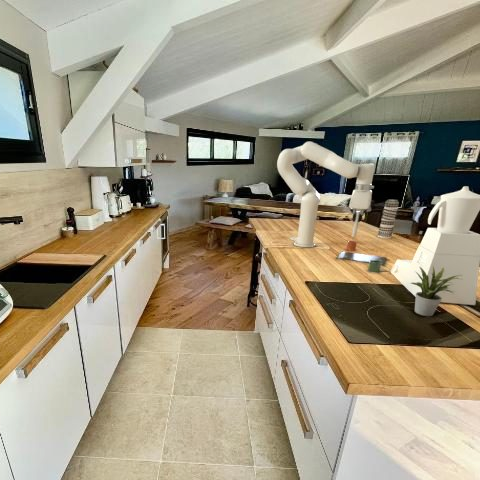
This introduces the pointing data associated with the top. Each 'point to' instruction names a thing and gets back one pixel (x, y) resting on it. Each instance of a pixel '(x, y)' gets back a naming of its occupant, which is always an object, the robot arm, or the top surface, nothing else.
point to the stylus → (355, 224)
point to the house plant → (430, 292)
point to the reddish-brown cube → (351, 245)
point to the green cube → (374, 266)
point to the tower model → (388, 218)
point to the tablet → (360, 257)
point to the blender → (448, 250)
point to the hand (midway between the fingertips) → (356, 221)
